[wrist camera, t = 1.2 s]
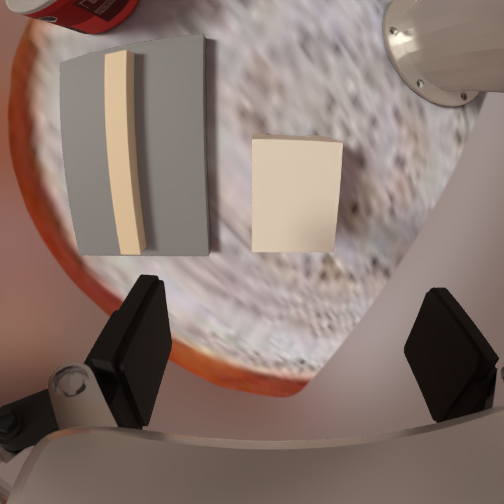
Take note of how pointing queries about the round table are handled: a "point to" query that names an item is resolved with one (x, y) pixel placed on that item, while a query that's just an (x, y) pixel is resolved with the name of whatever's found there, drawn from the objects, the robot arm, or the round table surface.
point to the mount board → (137, 148)
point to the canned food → (77, 13)
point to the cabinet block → (295, 192)
